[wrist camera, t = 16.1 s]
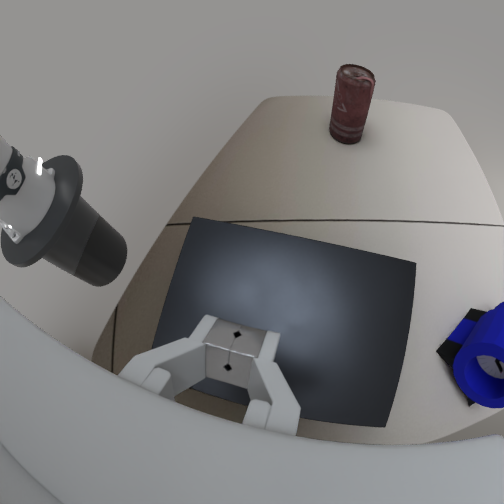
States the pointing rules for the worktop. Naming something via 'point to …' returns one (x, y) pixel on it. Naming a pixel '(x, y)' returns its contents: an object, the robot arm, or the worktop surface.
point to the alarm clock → (478, 356)
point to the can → (351, 102)
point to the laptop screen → (299, 314)
